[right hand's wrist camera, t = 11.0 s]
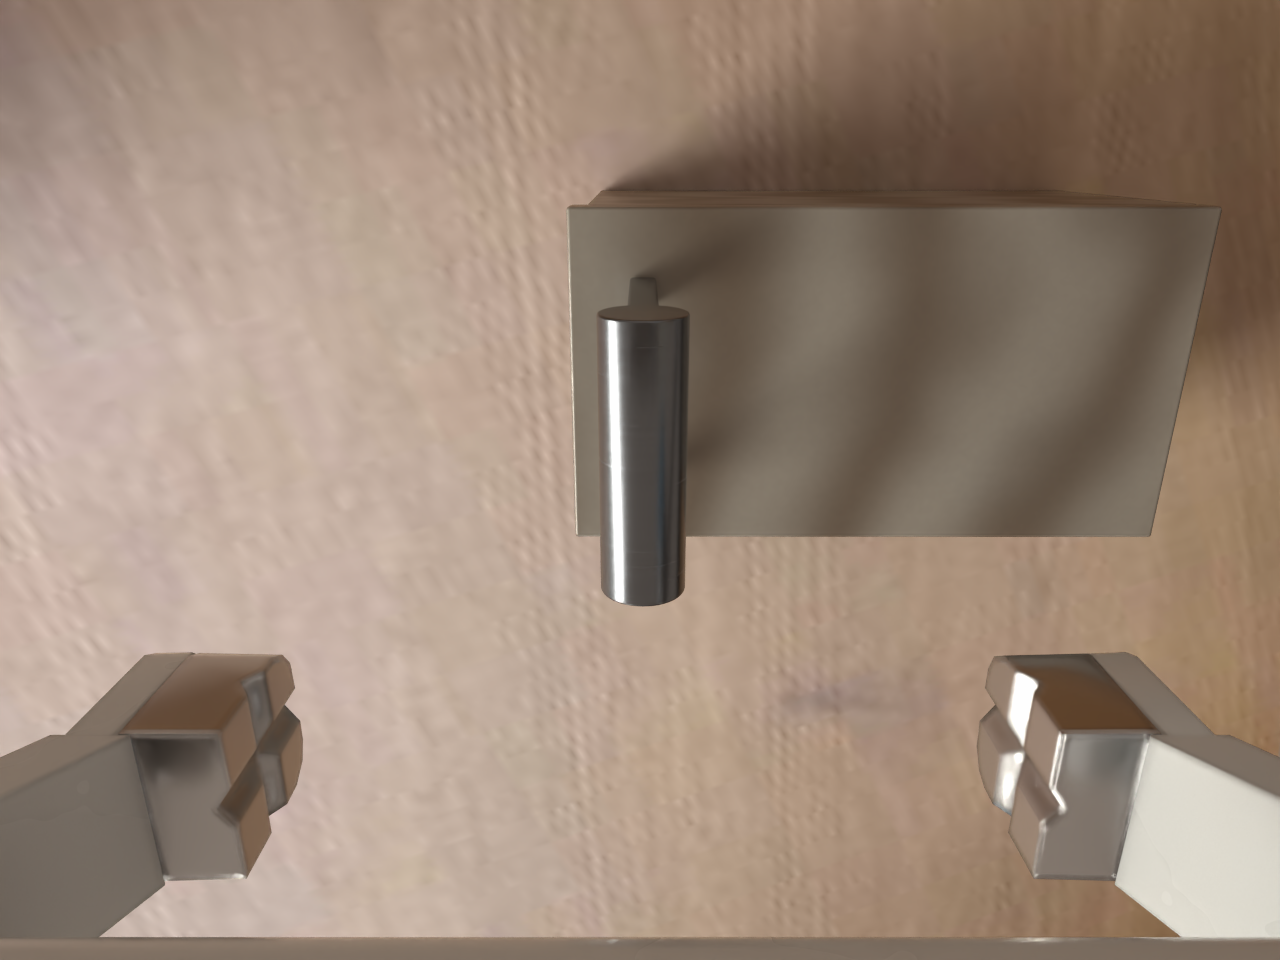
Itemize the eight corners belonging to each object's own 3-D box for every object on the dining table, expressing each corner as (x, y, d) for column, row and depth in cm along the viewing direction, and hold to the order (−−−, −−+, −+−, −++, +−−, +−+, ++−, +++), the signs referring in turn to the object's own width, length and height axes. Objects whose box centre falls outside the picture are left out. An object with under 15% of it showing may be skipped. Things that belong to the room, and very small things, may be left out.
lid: (577, 524, 27) (551, 673, 19) (568, 204, 24) (533, 230, 16) (1134, 525, 27) (1330, 674, 19) (1202, 204, 24) (1470, 230, 16)
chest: (604, 437, 35) (592, 524, 27) (600, 190, 32) (585, 204, 24) (1019, 437, 35) (1133, 524, 27) (1058, 190, 32) (1201, 204, 24)
